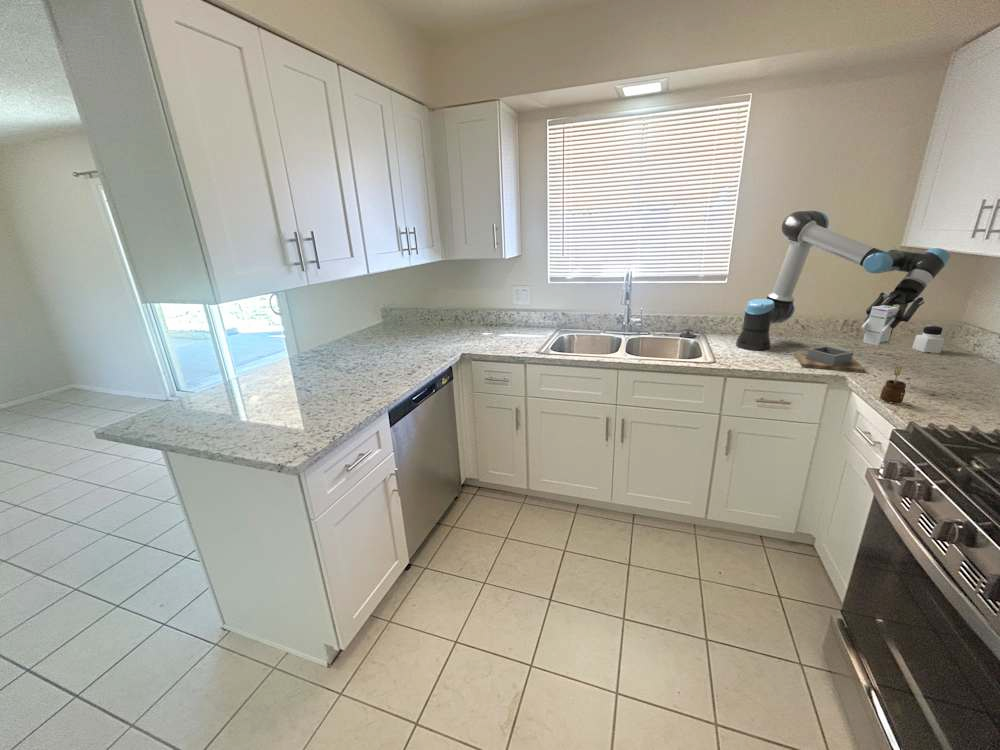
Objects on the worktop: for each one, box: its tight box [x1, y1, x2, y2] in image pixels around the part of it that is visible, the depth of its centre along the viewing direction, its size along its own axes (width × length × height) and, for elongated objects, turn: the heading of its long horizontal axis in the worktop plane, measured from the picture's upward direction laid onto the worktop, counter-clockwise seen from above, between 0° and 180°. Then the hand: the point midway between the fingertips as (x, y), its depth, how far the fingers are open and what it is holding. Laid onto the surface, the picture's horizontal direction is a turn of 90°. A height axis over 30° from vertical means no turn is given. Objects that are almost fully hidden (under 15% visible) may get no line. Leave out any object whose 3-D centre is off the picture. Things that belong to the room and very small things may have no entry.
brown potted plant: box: [879, 365, 907, 404], centre depth 145 cm, size 6×6×12 cm
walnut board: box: [793, 352, 866, 373], centre depth 185 cm, size 22×17×2 cm
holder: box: [806, 345, 854, 366], centre depth 184 cm, size 12×12×4 cm
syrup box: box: [862, 305, 899, 347], centre depth 160 cm, size 6×6×14 cm
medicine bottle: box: [911, 325, 946, 354], centre depth 195 cm, size 7×7×12 cm
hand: (873, 331), depth 159 cm, fingers closed on syrup box, 6 cm apart
